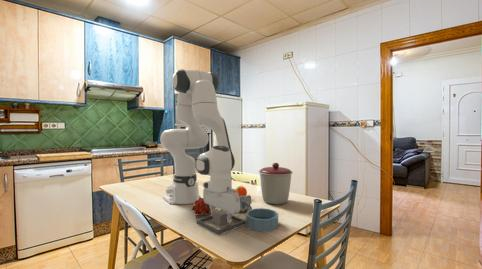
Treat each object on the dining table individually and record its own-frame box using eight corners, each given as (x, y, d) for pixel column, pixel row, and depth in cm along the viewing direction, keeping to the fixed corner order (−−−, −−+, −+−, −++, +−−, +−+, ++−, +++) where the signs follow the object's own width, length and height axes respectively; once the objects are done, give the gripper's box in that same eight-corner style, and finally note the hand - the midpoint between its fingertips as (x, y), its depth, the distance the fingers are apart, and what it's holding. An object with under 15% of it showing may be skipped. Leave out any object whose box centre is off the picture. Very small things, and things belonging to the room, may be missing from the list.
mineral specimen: (239, 221, 116) (250, 210, 123) (247, 214, 111) (258, 203, 118) (225, 206, 118) (237, 195, 125) (233, 198, 113) (245, 188, 120)
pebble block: (212, 224, 100) (212, 212, 100) (221, 220, 104) (221, 209, 104) (220, 227, 97) (220, 215, 97) (229, 224, 100) (229, 212, 100)
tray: (196, 223, 101) (196, 219, 100) (223, 214, 110) (223, 211, 110) (218, 235, 90) (218, 230, 90) (245, 224, 100) (245, 220, 100)
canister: (275, 195, 143) (275, 159, 142) (299, 203, 128) (300, 163, 128) (251, 200, 132) (251, 162, 131) (275, 209, 118) (275, 166, 117)
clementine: (239, 201, 130) (239, 188, 130) (230, 198, 135) (230, 186, 135) (249, 198, 136) (249, 185, 136) (240, 195, 141) (240, 183, 141)
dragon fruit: (217, 215, 115) (193, 224, 108) (209, 201, 120) (186, 209, 113) (220, 204, 110) (196, 213, 103) (212, 190, 115) (188, 198, 108)
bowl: (239, 224, 100) (239, 213, 100) (260, 216, 109) (260, 206, 109) (263, 234, 91) (263, 222, 91) (284, 224, 100) (284, 214, 100)
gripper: (244, 188, 94) (244, 223, 95) (212, 180, 109) (212, 210, 109) (231, 191, 90) (231, 228, 90) (200, 182, 105) (200, 214, 105)
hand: (221, 218), depth 100 cm, fingers open, 8 cm apart
